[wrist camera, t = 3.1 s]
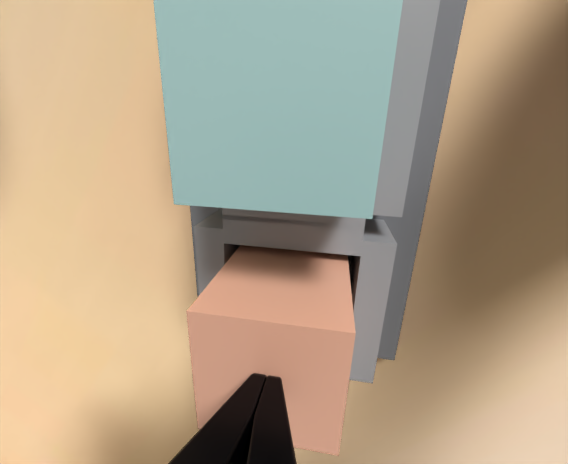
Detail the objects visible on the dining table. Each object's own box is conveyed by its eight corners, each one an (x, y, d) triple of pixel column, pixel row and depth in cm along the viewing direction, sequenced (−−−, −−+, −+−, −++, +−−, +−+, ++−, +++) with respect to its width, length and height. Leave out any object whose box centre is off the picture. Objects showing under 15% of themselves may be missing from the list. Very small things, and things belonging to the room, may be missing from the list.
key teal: (372, 39, 9) (410, -53, 5) (355, 180, 11) (372, 219, 6) (237, 41, 10) (149, -38, 5) (239, 174, 11) (174, 204, 7)
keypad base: (521, -328, 8) (675, -703, 5) (390, 347, 16) (407, 411, 13) (166, -264, 10) (63, -505, 6) (207, 322, 18) (174, 372, 14)
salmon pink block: (347, 253, 12) (355, 333, 7) (337, 342, 13) (338, 456, 9) (241, 243, 12) (186, 311, 8) (243, 329, 14) (197, 428, 9)
